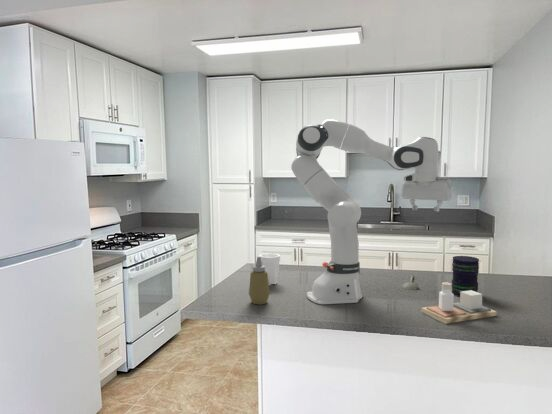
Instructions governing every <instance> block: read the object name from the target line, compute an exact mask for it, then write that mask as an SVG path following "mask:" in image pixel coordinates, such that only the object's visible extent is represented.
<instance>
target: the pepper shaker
mask: <svg viewBox="0 0 552 414" xmlns="http://www.w3.org/2000/svg"><path fill="white" fill-rule="evenodd" d="M438 295H439V296H438V305H439V308H440V309H441V310H442V311H448V312H452V311H453V304H454V303H455V302H454V301H455V300H454V297H455V295H454V294H453V293H452V282H447V281H444V282H441V291H438Z"/></svg>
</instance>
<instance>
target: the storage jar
mask: <svg viewBox="0 0 552 414" xmlns="http://www.w3.org/2000/svg"><path fill="white" fill-rule="evenodd" d="M479 261H480V259H479V258H477V257H475V256H468V255H455V256H452V264H451V266H452V268H451V271H452V279H451V284H452V289H451V292H452V293H453V294H454V297H455V296H456V297H459V298H460V292H461V291H469V290H472V291H475V292H478V291H479V282H478V278H479V277H478V276H479V275H478V274H479V271H480V270H479V269H480V266H479V265H480V263H479ZM478 293H479V292H478Z"/></svg>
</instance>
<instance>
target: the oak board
mask: <svg viewBox="0 0 552 414" xmlns="http://www.w3.org/2000/svg"><path fill="white" fill-rule="evenodd" d="M420 309H421V310H420V311H421V313H422V314H425V315H426V316H429V317H430V318H433V319H435V320H437V321H438V322H440V323H443V324H446V325H447V324H453V323H459V322H465V321H472V320H477V319H485V318H490V317H496V316H497V310H494V309H492V308H490V307H486V306H484V305H482V308H478V309H468V308H466V307H463V306H461V305H460V301H459V302H454V304H453V311H452V312H448V311H442V310H441V309H440V308H439V304H438V305H433V306H424V307H421V308H420Z"/></svg>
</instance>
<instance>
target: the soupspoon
mask: <svg viewBox="0 0 552 414" xmlns="http://www.w3.org/2000/svg"><path fill="white" fill-rule="evenodd" d="M415 277H416V276H415V274H411V275H410V280H409V281H406V282H404V283H402V289H403V290H406V291H418V289H419V284H418V283H416V282H414V281H413V279H415Z"/></svg>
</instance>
